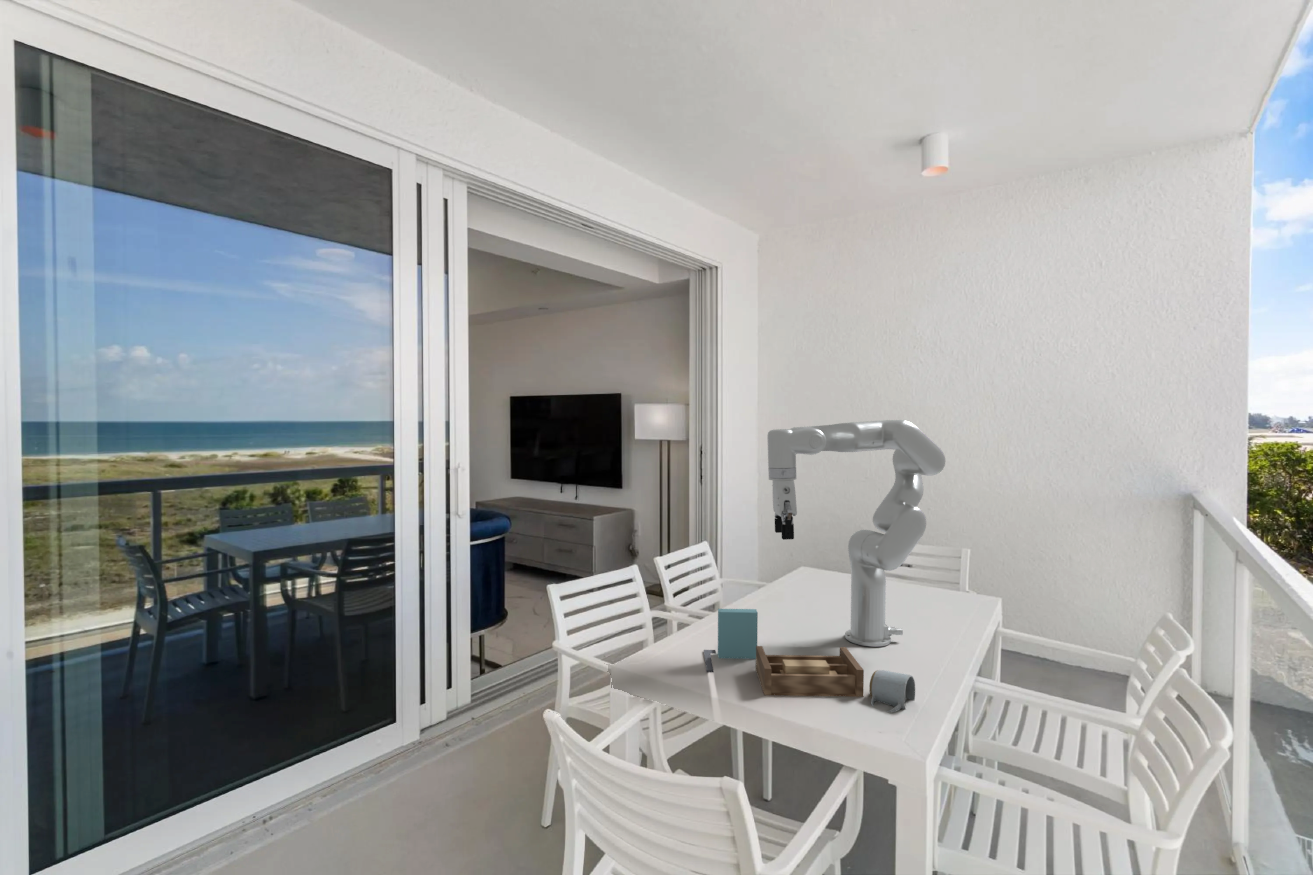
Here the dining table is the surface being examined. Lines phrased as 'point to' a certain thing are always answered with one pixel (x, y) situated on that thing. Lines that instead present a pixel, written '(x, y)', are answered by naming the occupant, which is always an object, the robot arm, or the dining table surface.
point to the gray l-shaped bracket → (709, 660)
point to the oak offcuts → (806, 667)
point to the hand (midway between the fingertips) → (784, 535)
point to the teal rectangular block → (737, 633)
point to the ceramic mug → (891, 688)
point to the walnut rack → (810, 676)
